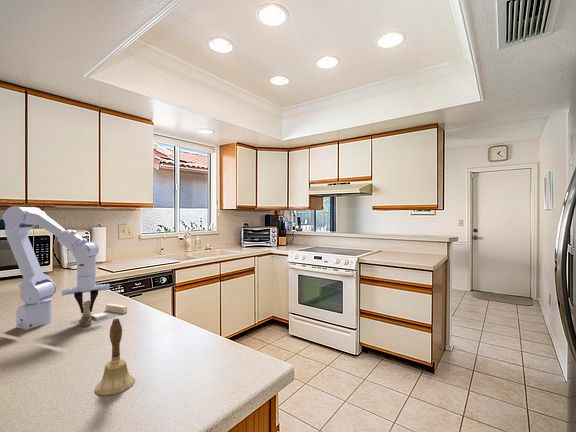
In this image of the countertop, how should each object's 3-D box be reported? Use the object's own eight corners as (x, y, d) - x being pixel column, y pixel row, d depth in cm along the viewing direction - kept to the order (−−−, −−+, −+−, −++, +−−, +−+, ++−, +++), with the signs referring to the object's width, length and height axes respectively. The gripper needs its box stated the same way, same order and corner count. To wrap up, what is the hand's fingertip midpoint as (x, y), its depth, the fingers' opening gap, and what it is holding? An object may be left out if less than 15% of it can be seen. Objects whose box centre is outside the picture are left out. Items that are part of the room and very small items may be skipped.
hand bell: (141, 375, 75) (140, 313, 75) (124, 395, 67) (123, 325, 66) (107, 376, 75) (107, 313, 75) (86, 396, 66) (86, 326, 66)
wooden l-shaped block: (80, 326, 104) (81, 305, 104) (81, 318, 112) (82, 298, 112) (91, 325, 106) (91, 304, 106) (90, 317, 114) (91, 297, 114)
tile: (96, 320, 111) (96, 317, 111) (91, 318, 113) (91, 315, 113) (107, 317, 114) (107, 314, 114) (102, 315, 116) (102, 312, 116)
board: (87, 329, 105) (87, 319, 105) (69, 325, 108) (69, 316, 108) (126, 314, 120) (126, 306, 120) (109, 311, 123) (109, 303, 123)
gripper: (108, 271, 116) (108, 305, 117) (62, 275, 108) (62, 312, 108) (109, 274, 111) (109, 310, 111) (61, 279, 102) (61, 318, 103)
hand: (86, 311), depth 109 cm, fingers closed on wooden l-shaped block, 2 cm apart
